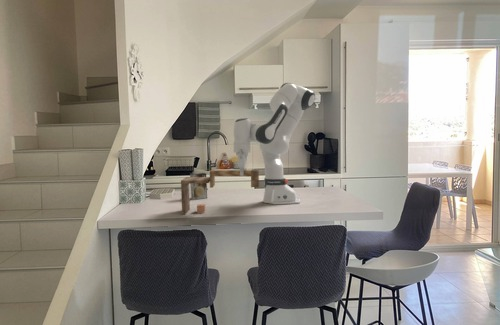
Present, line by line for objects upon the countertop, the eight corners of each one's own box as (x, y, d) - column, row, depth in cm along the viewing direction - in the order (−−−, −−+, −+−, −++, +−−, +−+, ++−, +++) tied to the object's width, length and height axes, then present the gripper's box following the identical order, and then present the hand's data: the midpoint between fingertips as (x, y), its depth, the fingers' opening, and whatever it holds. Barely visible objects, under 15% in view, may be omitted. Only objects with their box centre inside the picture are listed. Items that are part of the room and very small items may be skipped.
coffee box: (203, 196, 263) (203, 172, 262) (207, 198, 258) (206, 173, 256) (190, 198, 259) (189, 173, 258) (193, 199, 253) (193, 174, 252)
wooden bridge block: (258, 185, 218) (258, 169, 218) (258, 187, 209) (258, 171, 209) (211, 185, 219) (211, 169, 219) (209, 187, 210) (209, 171, 210)
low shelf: (212, 209, 223) (211, 176, 222) (208, 214, 209) (207, 180, 208) (187, 209, 224) (186, 177, 222) (182, 214, 210) (180, 180, 208)
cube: (205, 211, 218) (205, 204, 218) (204, 212, 214) (204, 205, 214) (198, 211, 218) (198, 204, 218) (197, 212, 214) (196, 205, 214)
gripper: (247, 150, 202) (247, 177, 203) (248, 148, 222) (248, 173, 224) (234, 150, 202) (234, 177, 203) (237, 148, 223) (237, 173, 224)
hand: (242, 175), depth 214 cm, fingers closed on wooden bridge block, 2 cm apart
